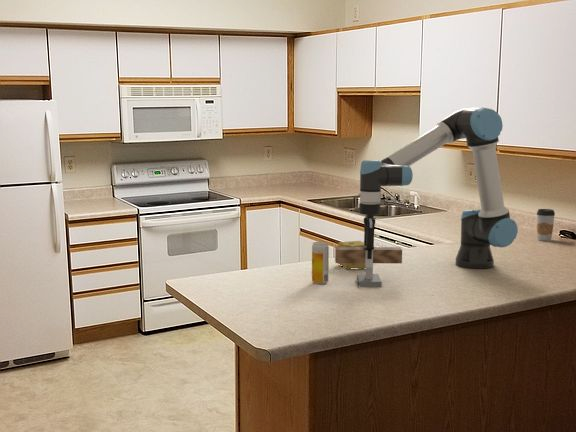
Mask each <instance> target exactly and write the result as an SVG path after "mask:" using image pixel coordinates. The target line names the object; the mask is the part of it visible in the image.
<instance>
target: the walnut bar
mask: <svg viewBox="0 0 576 432" xmlns="http://www.w3.org/2000/svg"><path fill="white" fill-rule="evenodd" d="M334 248H335V250H334V251H335V257H334V261H335V264H338V263H365V252H366V250H364V248H366V247H338V246H335V247H334ZM373 264H403V249H402V247H398V246H374V249H373Z"/></svg>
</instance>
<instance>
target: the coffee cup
mask: <svg viewBox="0 0 576 432" xmlns="http://www.w3.org/2000/svg"><path fill="white" fill-rule="evenodd" d="M555 215H556V214H555V210H554V209H550V208H538V209H537V212H536V222H537V223H536V228H537V229H536V231H537V233H536V234H537V240H538V241H539V242H551V240H552V239H553V238H552V237H553V233H554V232H553V231H554V222H555Z"/></svg>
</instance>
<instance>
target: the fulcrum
mask: <svg viewBox="0 0 576 432" xmlns="http://www.w3.org/2000/svg"><path fill="white" fill-rule="evenodd" d="M356 280H358V281H357V284H358V287H359V288H382V284H383V283H382V279H381V277H380V275H379V273H374V267H373V268H366V269H365V273H357V274H356Z"/></svg>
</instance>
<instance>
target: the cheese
mask: <svg viewBox="0 0 576 432" xmlns="http://www.w3.org/2000/svg"><path fill="white" fill-rule="evenodd" d="M364 244H365V243H364V241H361V240H355V241H354V240H353V241H339V242H338V243H337V247H366V246H365V245H364ZM337 264H340V265H342V266H343V267H342V268H343V269H344V268H345V269H351V268H365V264H364V263H337ZM340 265H339V266H340ZM345 269H344V270H345Z"/></svg>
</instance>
